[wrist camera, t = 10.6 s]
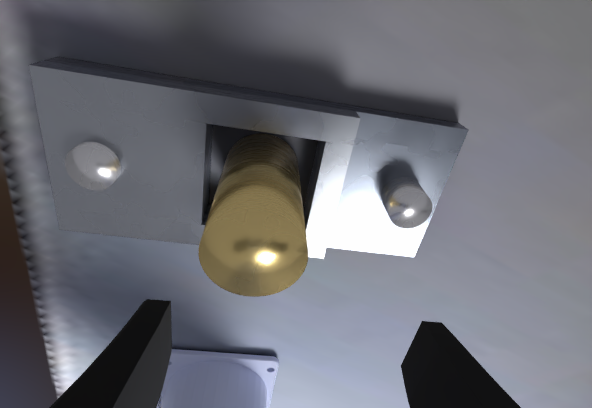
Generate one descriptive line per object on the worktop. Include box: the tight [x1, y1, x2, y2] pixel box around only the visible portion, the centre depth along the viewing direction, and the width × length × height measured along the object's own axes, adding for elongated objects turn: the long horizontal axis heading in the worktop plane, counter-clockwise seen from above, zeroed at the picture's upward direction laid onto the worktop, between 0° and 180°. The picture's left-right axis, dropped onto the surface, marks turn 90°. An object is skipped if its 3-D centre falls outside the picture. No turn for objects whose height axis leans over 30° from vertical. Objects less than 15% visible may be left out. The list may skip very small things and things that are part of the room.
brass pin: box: [199, 133, 308, 296], centre depth 15 cm, size 4×4×7 cm
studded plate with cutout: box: [29, 57, 468, 258], centre depth 17 cm, size 7×18×2 cm, turn 80°
